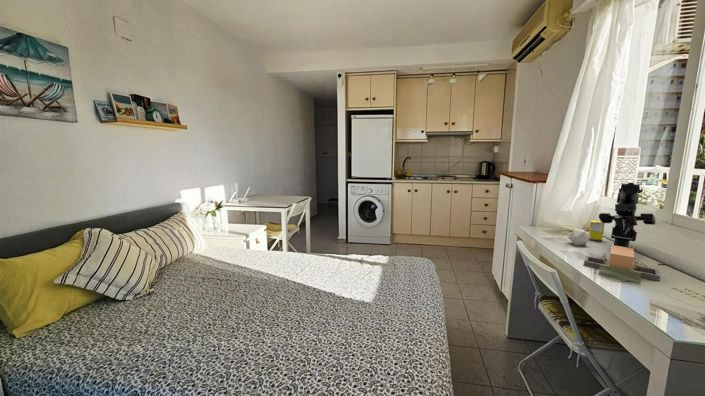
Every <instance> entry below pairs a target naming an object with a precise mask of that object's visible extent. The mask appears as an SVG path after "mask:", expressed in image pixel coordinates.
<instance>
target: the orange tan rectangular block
mask: <svg viewBox="0 0 705 396" xmlns="http://www.w3.org/2000/svg"><path fill="white" fill-rule="evenodd" d="M634 263H635V249H634V248H633V247H629V248H627V247H621V246H615V245H614V244H611V247H610V252H609V261H608V266H613V267H618V268H623V269H628V270H633V268H634V267H633V266H634Z"/></svg>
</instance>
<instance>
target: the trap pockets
mask: <svg viewBox="0 0 705 396" xmlns="http://www.w3.org/2000/svg"><path fill="white" fill-rule="evenodd" d="M601 262H602V258H600V257H594V256H588V255H586V257H585V258H584V261H583V266H585V267H590V268H595V269H598V270H599V269H600V264H602V263H601ZM638 272H641V279H642V278H643V279H647V280H653V281H657V282H659V281H660V279H661V278H660V277H661V275H660V271H659V269H657V268H652V267H648V266H646V267H645V266H641V265H639V271H638Z"/></svg>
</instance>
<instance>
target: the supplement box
mask: <svg viewBox="0 0 705 396" xmlns="http://www.w3.org/2000/svg"><path fill="white" fill-rule="evenodd" d="M604 229H605V223H602V222H601V221H600V220H593V219H590V224H589V231H588V235H589V236H590V239H589V240H588V241H595V242H601V243H602V242H603V238H604V231H605V230H604Z"/></svg>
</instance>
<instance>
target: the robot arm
mask: <svg viewBox="0 0 705 396" xmlns="http://www.w3.org/2000/svg"><path fill="white" fill-rule="evenodd" d="M643 191H644V189H643V187H642V185H640V183H634V182H621V184H619V187H618V192H617V198H616V204H615V205H614V206H615V207H614V211H615V213H616V214H614V215H611V213H609V212H599V213H600V214H598V219H599V221H601V222H602V223H604V224H612V223H613V221H614V223H615V224H614V226H612V230H611V237H610V239H614V240H613V241H614V242H613V245H615V246H621V247H627V248H630V244H631V243H630V242H636V239H637V234H638V232H637V231H636V229H634V228H635V227H634V226H638V221H640V222H641V221H642V223H643V224H645V225H649V226H650V225H652V226H653V225H656V223H657V222H656V221H657V220H656V217H655V215H654V214H653V213H651V212H650V213H649V212H648V213H646V212H644V213H640V215H636V211H637V205H638V202H639V197H640V196H639V195H640V194H641V193H643ZM636 204H637V205H636Z"/></svg>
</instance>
